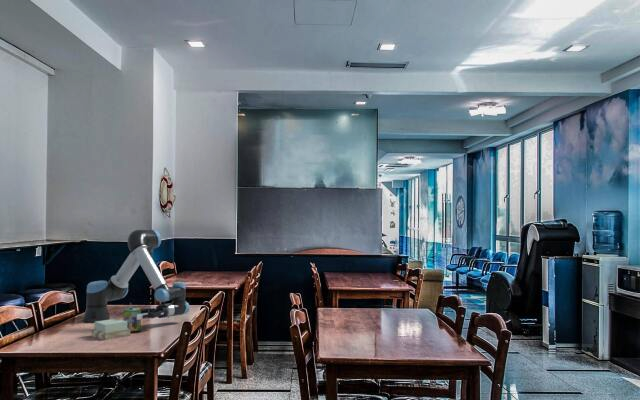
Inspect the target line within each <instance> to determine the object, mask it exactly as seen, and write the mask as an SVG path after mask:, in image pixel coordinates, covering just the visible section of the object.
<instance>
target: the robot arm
mask: <svg viewBox="0 0 640 400" xmlns="http://www.w3.org/2000/svg"><path fill="white" fill-rule="evenodd" d="M161 244H162V235H161V233H160V232H159V231H158V230H156V229H151V228H149V229H135V230H133V231H132V232H130V234H129V235H128V237H127V247H128V250H129V251H130V253H129V255H128V256H127V258H126V259H125V260H124V262H123V263H122V265H121V267H120V268H119V270H118V271H117V273H116V274H115V275H112V276H111V277H110V278H109V280H108V281H107V280H97V281H96V280H95V281H91V282H88V284H87V285H86V305H85V307H86V309H85V312H84V314H83V317H82V322H84V323H88V324H89V323H91V324H92V323H94V324H95V322H96V321H103V320H110V319H111V318H110V317H111V315H110V313H109V309H108V302H111V301H117V300H121V299H123V298H125V297H126V296H127V294H128V292H129V281H130V280H131V278H132V276H133V275H134V274H135V272H136V271H137V270H138V268H139V266H140V267H141V269H142V270H143V272H144V273H145V276H146V277H147V279H148V281H149V282H150V284H151V286H152V288H153V290H154V295H153V296H154V300H156V301H157V302H158V303H159V302H160V303H165V302H168V301H172V302H171V303H165V304H158V305H157V306H156V307H154V308H151V307H150V308H140V309H141V314H137V320H139V319H141V320H143V319H144V320H145V319H155V318H159V319H161V318H168V319H169V318H170V317H174V316H175V317H177V316H183V315H186V314H188V313H189V312H190V304H189V302H187V300H186V283H185V282H183V281H175V282H173V283H172V286H170V287H169V285H168V283H167V282H166V280H165V278H164V277H163V275H162V273H161V271H160V269H159V268H158V266H157V265H156V262H155V260H154V259H153V257H152V255H151V254H152V252H153V250H154V249H157V248H159V247H160V245H161Z"/></svg>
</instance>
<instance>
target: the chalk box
mask: <svg viewBox="0 0 640 400" xmlns="http://www.w3.org/2000/svg"><path fill="white" fill-rule="evenodd" d="M129 305H130V307H128V308H123V311H122V312H123V313H122V315H123V317H122V319H123V321H127V328H128V329H131V330H130V332H140V331H142V319H139V320H137V314H141V309H142V308H141V307H133V305H132V302H130V303H129Z"/></svg>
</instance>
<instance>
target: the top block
mask: <svg viewBox="0 0 640 400" xmlns="http://www.w3.org/2000/svg"><path fill="white" fill-rule="evenodd" d="M93 329H95V330H98V331H102V332H105V333H106V332H113V331H119V330H125V329H127V321H123V320H122V319H118V318H112V319H111V318H110V320H103V321H96V322H95V323H94V328H93Z"/></svg>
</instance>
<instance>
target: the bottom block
mask: <svg viewBox="0 0 640 400" xmlns="http://www.w3.org/2000/svg"><path fill="white" fill-rule="evenodd" d="M130 330H131V329H128V328H127V329H125V330H119V331H113V332H106V333H105V332H102V331H98V330H95V329H94V328H93V329H91V337H93V338H95V339H101V340H103V341H108V340H113V339H114V340H115V339H118V338H119V339H120V338H126V337H130V336H131V331H130Z"/></svg>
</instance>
